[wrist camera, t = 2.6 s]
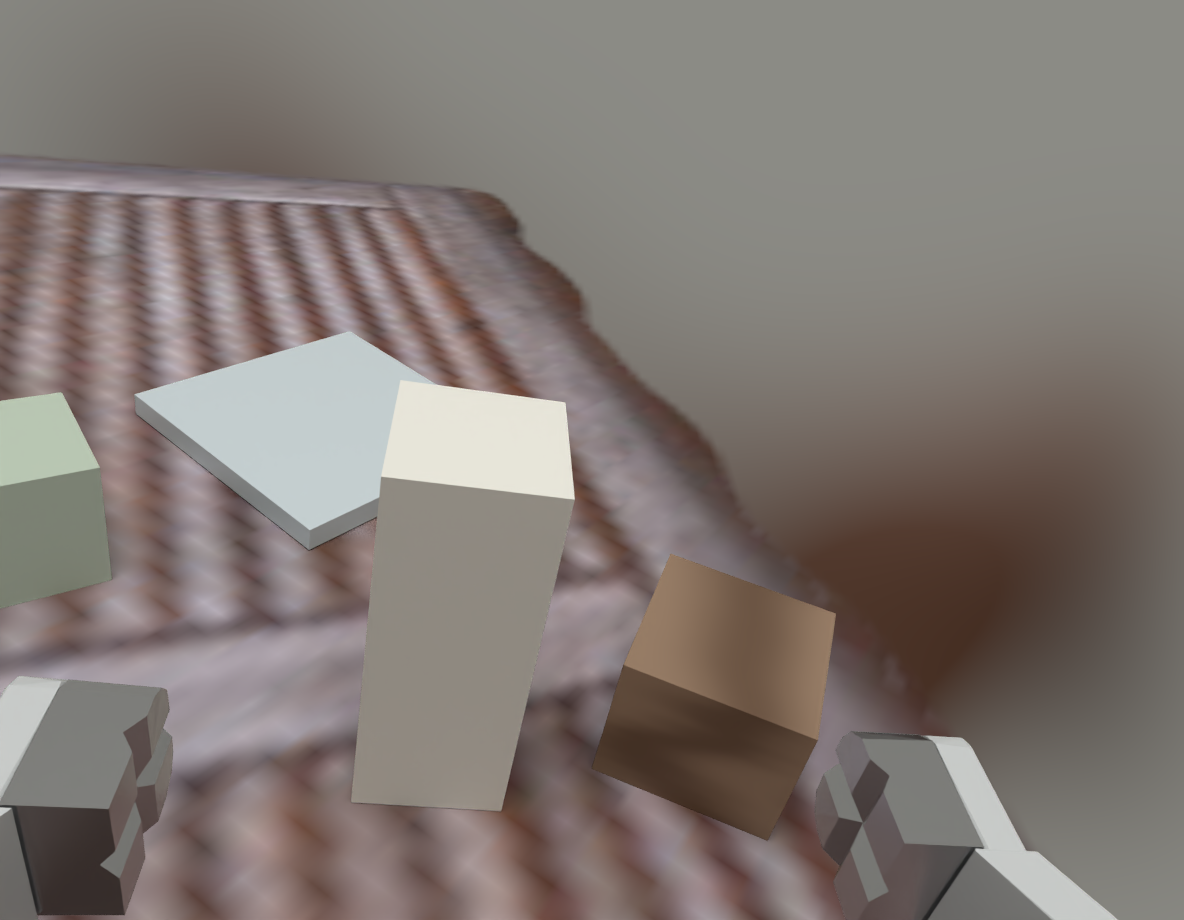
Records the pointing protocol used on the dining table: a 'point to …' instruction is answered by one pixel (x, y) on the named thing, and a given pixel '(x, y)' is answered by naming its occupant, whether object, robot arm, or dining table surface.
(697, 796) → the walnut block
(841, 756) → the robot arm
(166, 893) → the dining table surface
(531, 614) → the cream block
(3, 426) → the sage cube
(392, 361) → the tile
